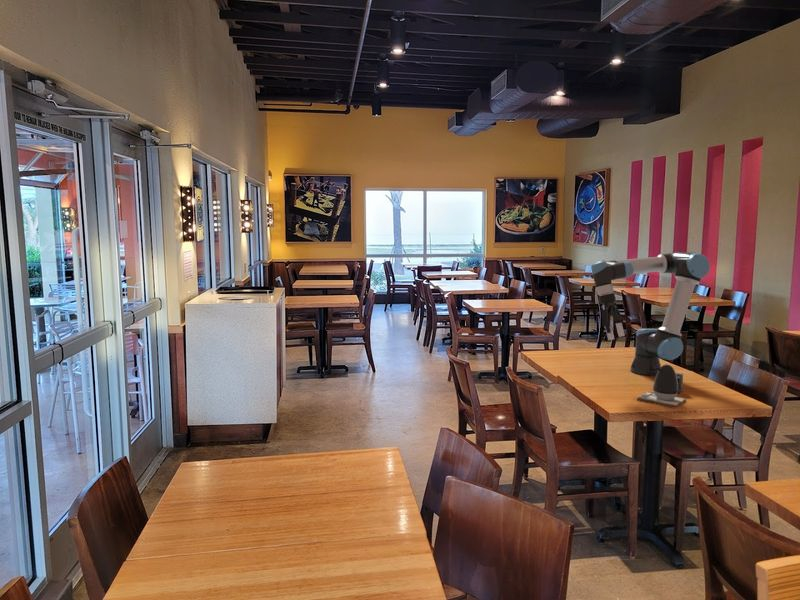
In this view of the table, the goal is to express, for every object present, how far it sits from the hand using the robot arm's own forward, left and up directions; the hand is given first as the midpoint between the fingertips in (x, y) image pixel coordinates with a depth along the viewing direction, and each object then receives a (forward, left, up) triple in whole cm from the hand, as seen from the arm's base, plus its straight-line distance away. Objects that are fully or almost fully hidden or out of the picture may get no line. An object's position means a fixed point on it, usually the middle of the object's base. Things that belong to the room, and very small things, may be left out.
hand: (616, 338), depth 285 cm
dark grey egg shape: (+9, +26, -22) cm, 36 cm away
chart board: (+9, +25, -23) cm, 35 cm away
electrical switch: (-10, +23, -23) cm, 34 cm away
